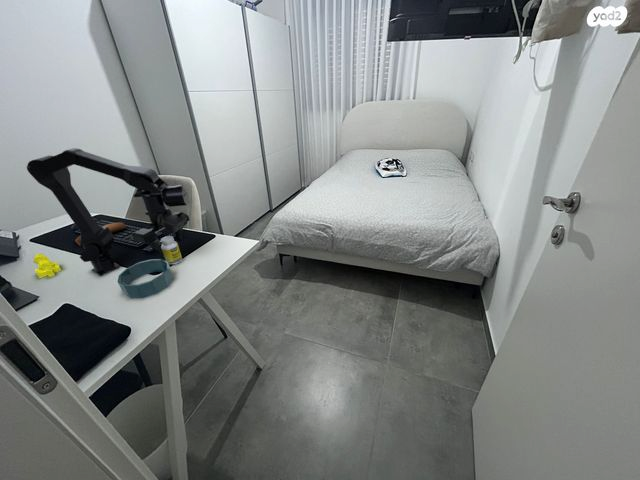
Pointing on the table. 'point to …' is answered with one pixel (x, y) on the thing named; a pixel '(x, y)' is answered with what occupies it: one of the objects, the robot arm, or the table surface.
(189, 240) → the table surface
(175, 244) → the supplement bottle
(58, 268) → the crumpled paper
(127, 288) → the teal ring-shaped band
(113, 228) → the sunglasses case
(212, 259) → the table surface
